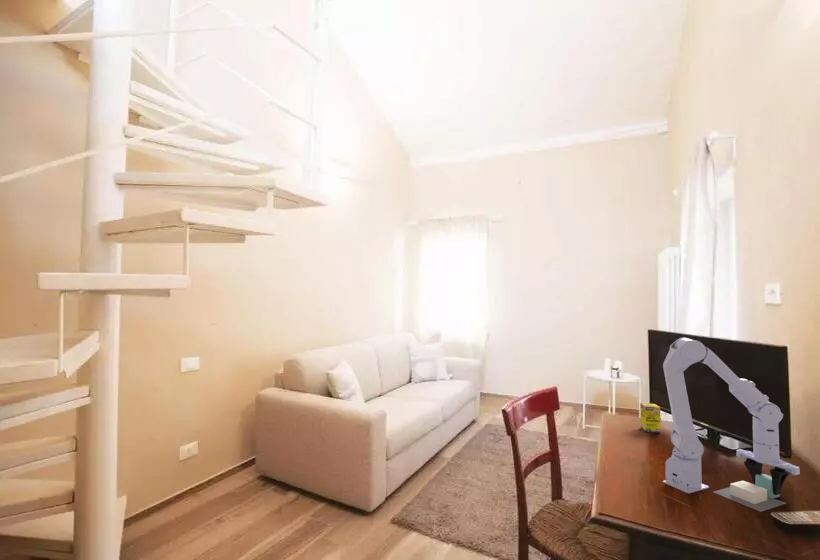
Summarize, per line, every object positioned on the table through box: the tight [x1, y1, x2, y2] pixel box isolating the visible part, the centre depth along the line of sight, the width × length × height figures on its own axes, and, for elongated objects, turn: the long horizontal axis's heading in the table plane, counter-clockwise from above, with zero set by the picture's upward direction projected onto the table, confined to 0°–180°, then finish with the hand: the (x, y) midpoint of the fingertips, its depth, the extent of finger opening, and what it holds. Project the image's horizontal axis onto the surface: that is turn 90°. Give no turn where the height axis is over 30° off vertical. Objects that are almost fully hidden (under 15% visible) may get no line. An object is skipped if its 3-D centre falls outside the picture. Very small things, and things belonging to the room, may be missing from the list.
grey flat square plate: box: [713, 486, 787, 513], centre depth 117 cm, size 12×12×1 cm
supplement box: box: [639, 402, 661, 434], centre depth 176 cm, size 6×6×11 cm
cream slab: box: [729, 480, 767, 504], centre depth 117 cm, size 6×6×3 cm
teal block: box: [755, 473, 781, 499], centre depth 119 cm, size 4×4×5 cm
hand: (767, 490), depth 119 cm, fingers closed on teal block, 4 cm apart
